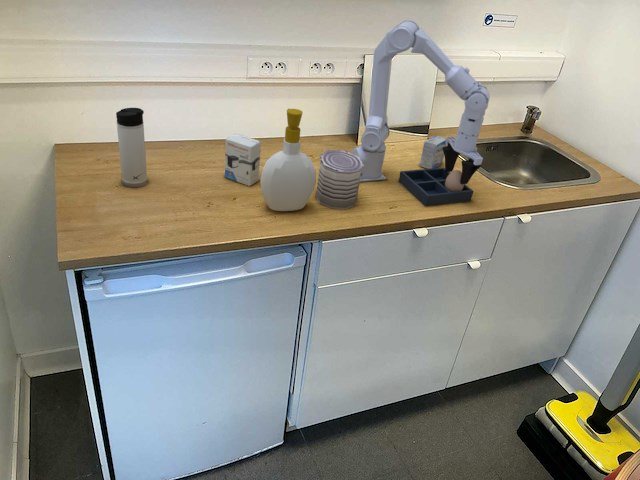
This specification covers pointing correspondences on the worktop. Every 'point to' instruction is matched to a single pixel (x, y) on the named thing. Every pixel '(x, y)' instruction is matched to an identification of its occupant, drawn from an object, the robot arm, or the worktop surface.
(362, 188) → the worktop surface
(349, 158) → the can
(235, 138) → the ink box
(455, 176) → the egg
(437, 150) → the medicine box
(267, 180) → the soap bottle
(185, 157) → the worktop surface
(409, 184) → the divided tray
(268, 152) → the worktop surface
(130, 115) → the travel mug
